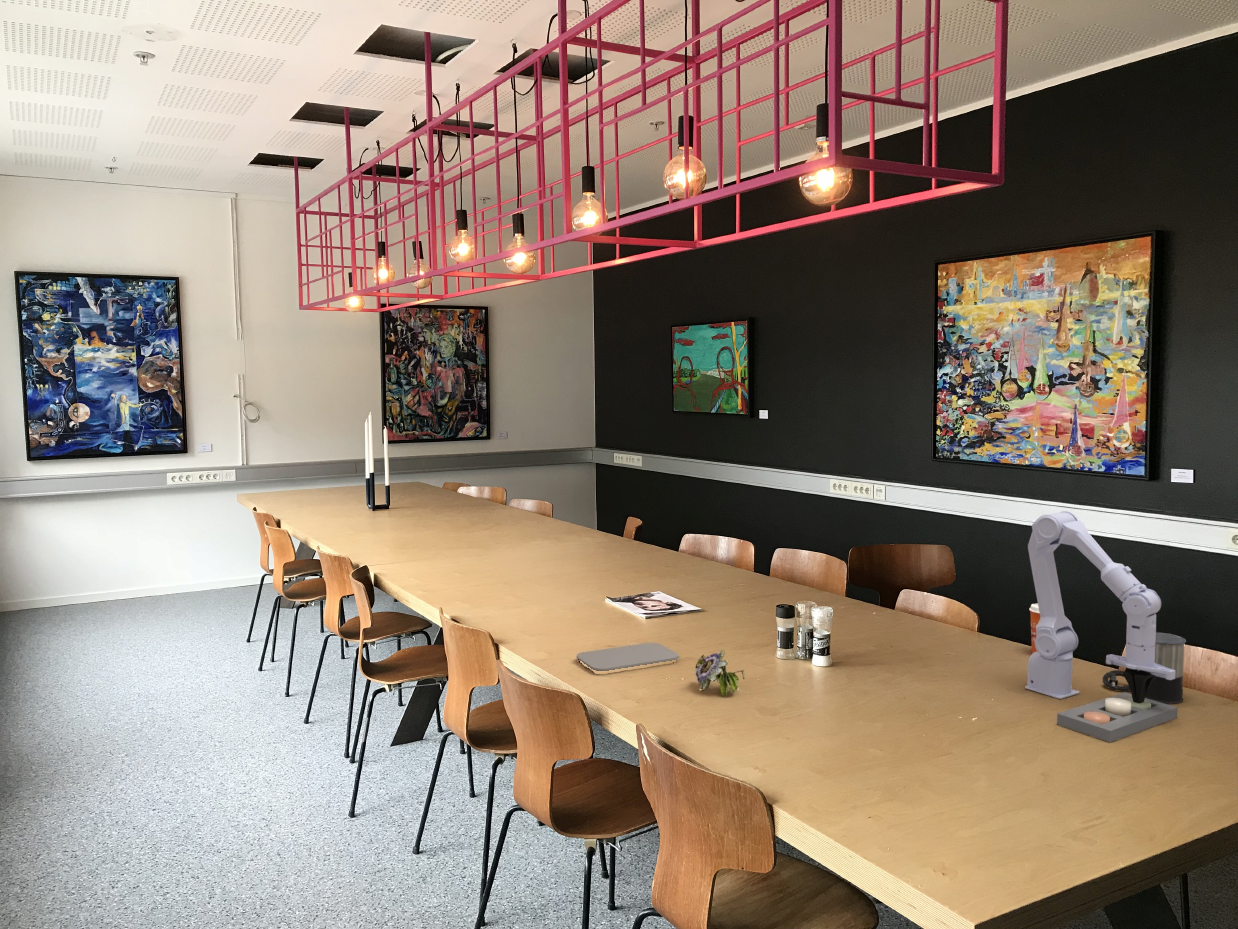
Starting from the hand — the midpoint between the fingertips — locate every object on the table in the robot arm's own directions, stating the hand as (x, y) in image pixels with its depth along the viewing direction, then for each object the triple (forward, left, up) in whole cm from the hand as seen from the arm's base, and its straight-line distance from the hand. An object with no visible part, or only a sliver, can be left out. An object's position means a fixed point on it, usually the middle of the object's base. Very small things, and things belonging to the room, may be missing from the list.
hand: (1138, 702), depth 204 cm
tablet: (-97, -77, -3) cm, 124 cm away
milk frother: (-7, +15, -3) cm, 17 cm away
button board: (0, -8, -3) cm, 8 cm away
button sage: (0, 0, -3) cm, 3 cm away
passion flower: (-65, -70, -3) cm, 96 cm away
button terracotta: (0, -16, -3) cm, 16 cm away
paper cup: (-39, +23, -3) cm, 45 cm away
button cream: (0, -8, -1) cm, 8 cm away
